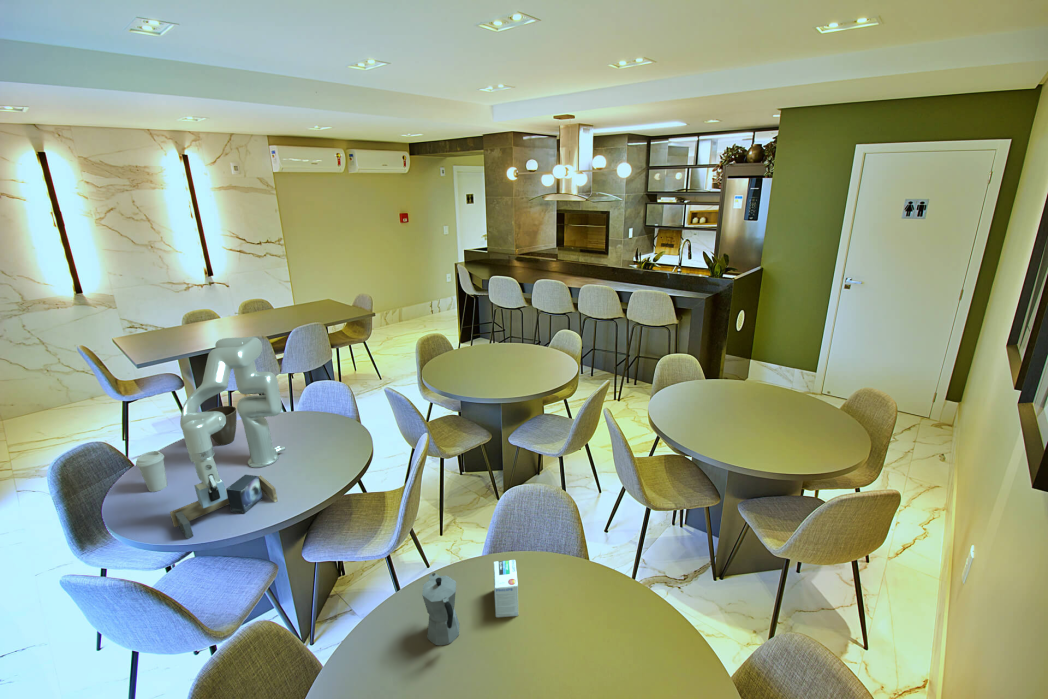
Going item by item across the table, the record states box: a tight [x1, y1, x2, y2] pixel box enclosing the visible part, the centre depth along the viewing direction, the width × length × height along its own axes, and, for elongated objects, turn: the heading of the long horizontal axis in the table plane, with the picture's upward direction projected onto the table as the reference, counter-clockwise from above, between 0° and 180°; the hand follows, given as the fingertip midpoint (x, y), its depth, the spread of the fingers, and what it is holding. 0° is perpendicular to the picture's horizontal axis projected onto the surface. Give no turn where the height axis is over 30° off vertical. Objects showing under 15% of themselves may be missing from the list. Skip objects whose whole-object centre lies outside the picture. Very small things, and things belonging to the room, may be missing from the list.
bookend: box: [175, 511, 194, 540], centre depth 180 cm, size 2×10×6 cm, turn 47°
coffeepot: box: [421, 572, 460, 646], centre depth 134 cm, size 15×9×18 cm, turn 28°
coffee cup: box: [135, 450, 168, 493], centre depth 207 cm, size 10×10×15 cm
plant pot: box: [204, 405, 238, 446], centre depth 244 cm, size 15×15×16 cm
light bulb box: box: [493, 559, 519, 618], centre depth 145 cm, size 11×7×11 cm, turn 5°
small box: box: [225, 474, 264, 515], centre depth 194 cm, size 11×6×10 cm, turn 168°
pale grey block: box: [194, 477, 227, 508], centre depth 185 cm, size 8×6×8 cm
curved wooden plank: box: [169, 474, 278, 528], centre depth 190 cm, size 32×14×6 cm, turn 138°
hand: (212, 496), depth 186 cm, fingers closed on pale grey block, 5 cm apart
